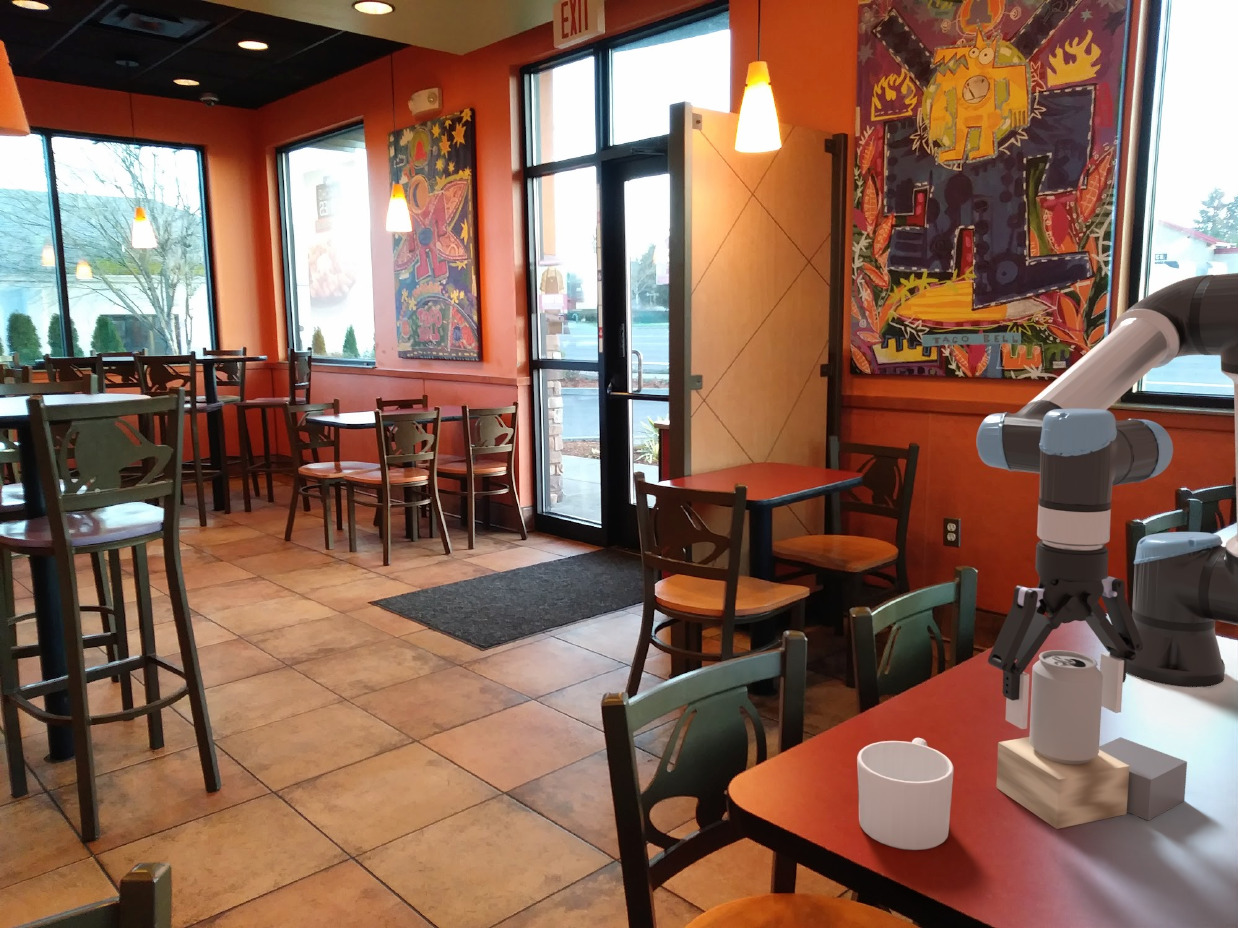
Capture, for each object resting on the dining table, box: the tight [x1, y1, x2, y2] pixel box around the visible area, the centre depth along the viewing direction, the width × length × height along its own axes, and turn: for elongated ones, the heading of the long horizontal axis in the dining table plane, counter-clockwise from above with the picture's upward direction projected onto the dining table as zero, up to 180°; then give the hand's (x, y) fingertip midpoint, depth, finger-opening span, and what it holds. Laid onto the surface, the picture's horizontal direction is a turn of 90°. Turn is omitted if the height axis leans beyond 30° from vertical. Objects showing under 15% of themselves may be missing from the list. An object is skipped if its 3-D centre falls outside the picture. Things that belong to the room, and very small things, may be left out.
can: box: [1029, 649, 1103, 764], centre depth 107 cm, size 8×8×12 cm
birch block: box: [995, 736, 1129, 830], centre depth 108 cm, size 10×10×6 cm
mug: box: [856, 737, 955, 851], centre depth 104 cm, size 13×10×8 cm
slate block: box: [1099, 736, 1188, 821], centre depth 108 cm, size 8×8×5 cm
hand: (1063, 716), depth 107 cm, fingers open, 13 cm apart
